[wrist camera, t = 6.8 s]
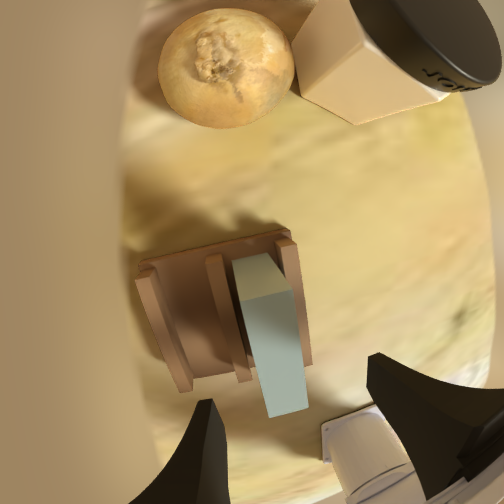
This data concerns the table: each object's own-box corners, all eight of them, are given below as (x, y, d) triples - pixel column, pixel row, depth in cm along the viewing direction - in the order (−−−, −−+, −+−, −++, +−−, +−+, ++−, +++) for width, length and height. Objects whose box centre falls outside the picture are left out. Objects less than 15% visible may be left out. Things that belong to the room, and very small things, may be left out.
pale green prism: (284, 350, 21) (308, 407, 15) (254, 357, 21) (269, 418, 14) (267, 252, 19) (292, 289, 12) (231, 260, 18) (239, 301, 12)
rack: (304, 346, 22) (315, 367, 19) (182, 373, 21) (179, 396, 19) (286, 228, 19) (299, 236, 17) (141, 261, 19) (129, 274, 16)
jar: (334, 143, 18) (461, 117, 7) (265, 55, 16) (320, -56, 5) (407, 93, 18) (518, 62, 6) (349, 16, 16) (430, -57, 4)
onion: (158, 50, 15) (134, -2, 8) (265, 28, 16) (287, -27, 9) (179, 148, 17) (158, 130, 10) (294, 122, 18) (334, 95, 11)
